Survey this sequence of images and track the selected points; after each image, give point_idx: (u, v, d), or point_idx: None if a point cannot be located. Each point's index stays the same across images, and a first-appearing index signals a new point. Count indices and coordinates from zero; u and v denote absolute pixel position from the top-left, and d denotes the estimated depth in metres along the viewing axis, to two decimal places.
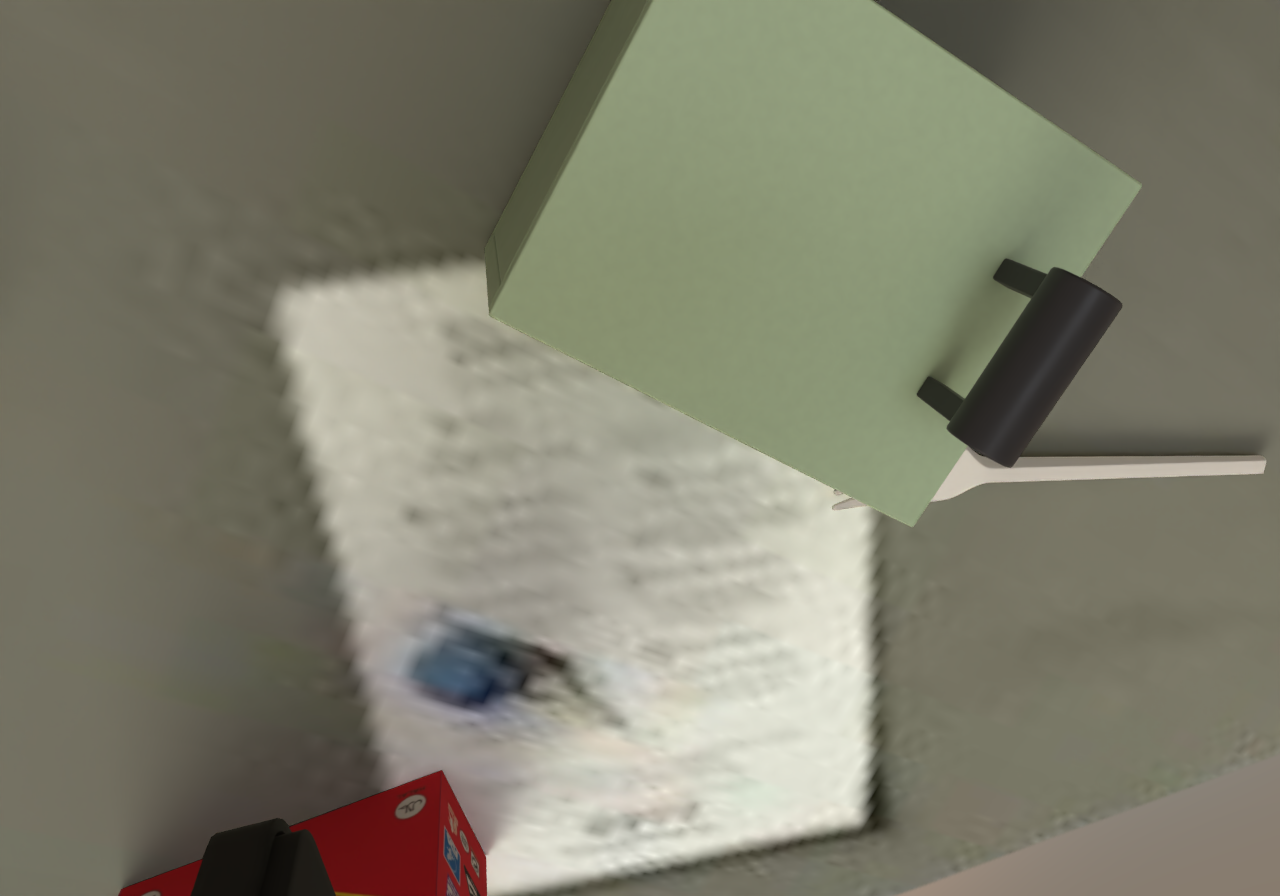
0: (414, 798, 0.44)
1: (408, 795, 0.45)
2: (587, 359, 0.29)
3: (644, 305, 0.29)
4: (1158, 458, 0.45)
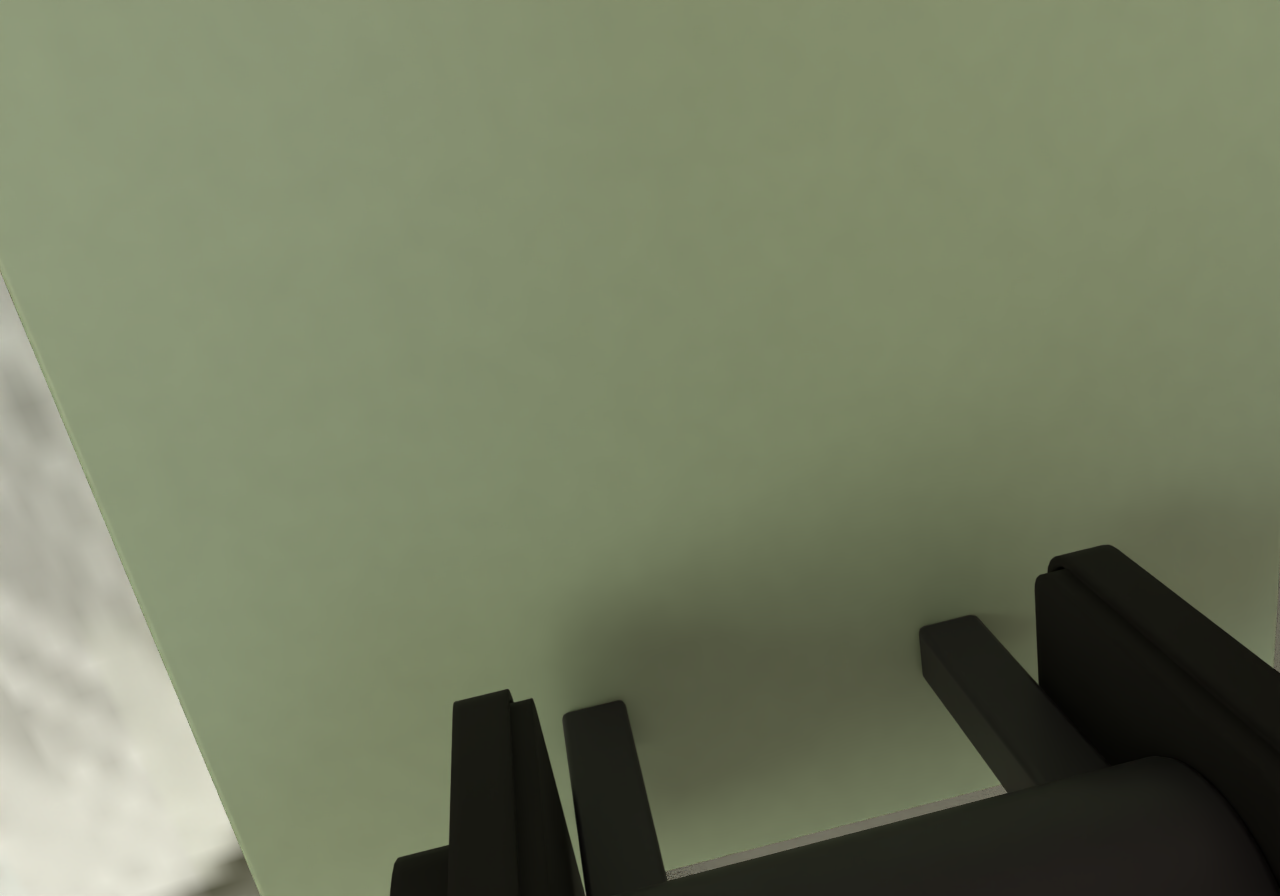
0: None
1: None
2: None
3: None
4: None
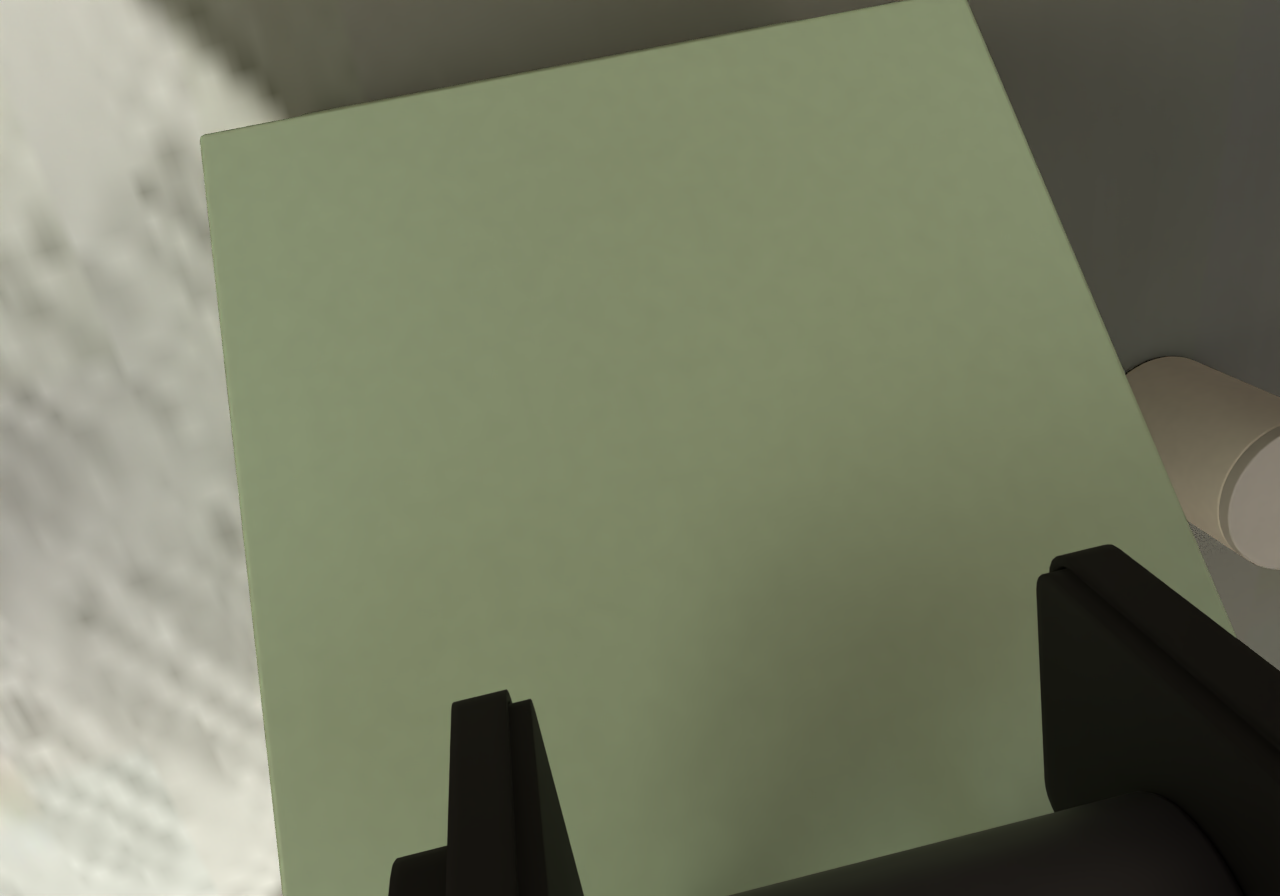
0: None
1: None
2: (228, 308, 0.15)
3: (383, 318, 0.15)
4: None
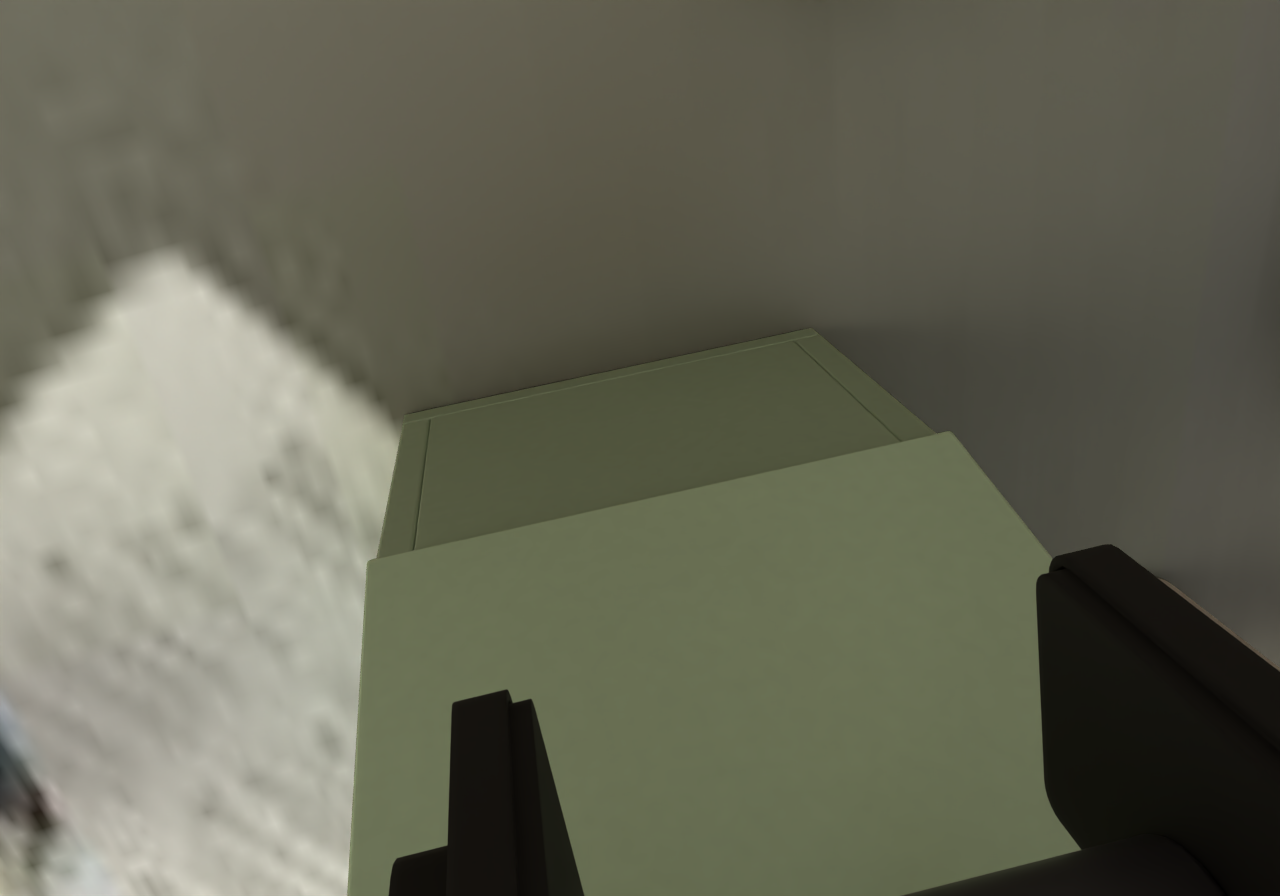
0: None
1: None
2: (368, 668, 0.18)
3: (490, 667, 0.18)
4: None
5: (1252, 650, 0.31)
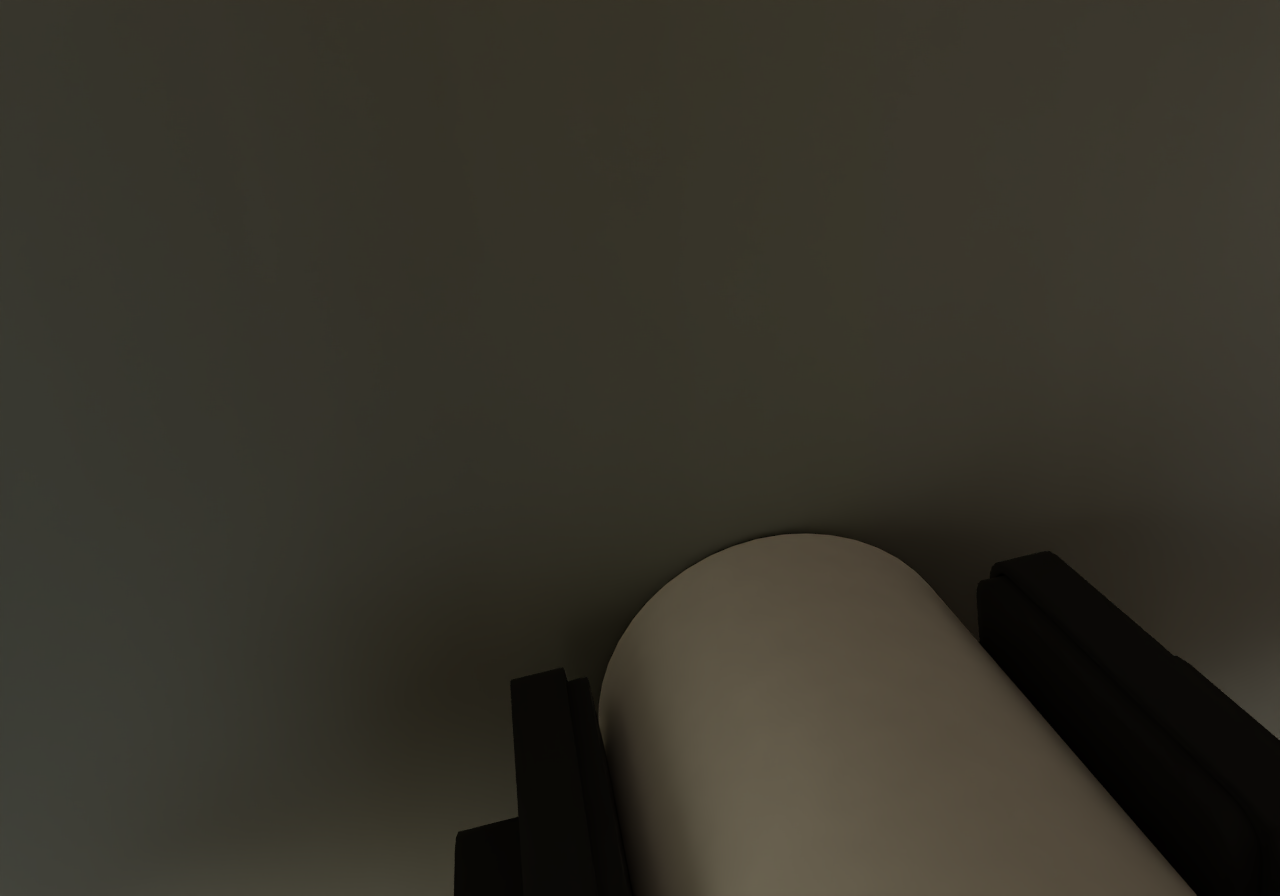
0: None
1: None
2: None
3: None
4: None
5: (1116, 862, 0.06)
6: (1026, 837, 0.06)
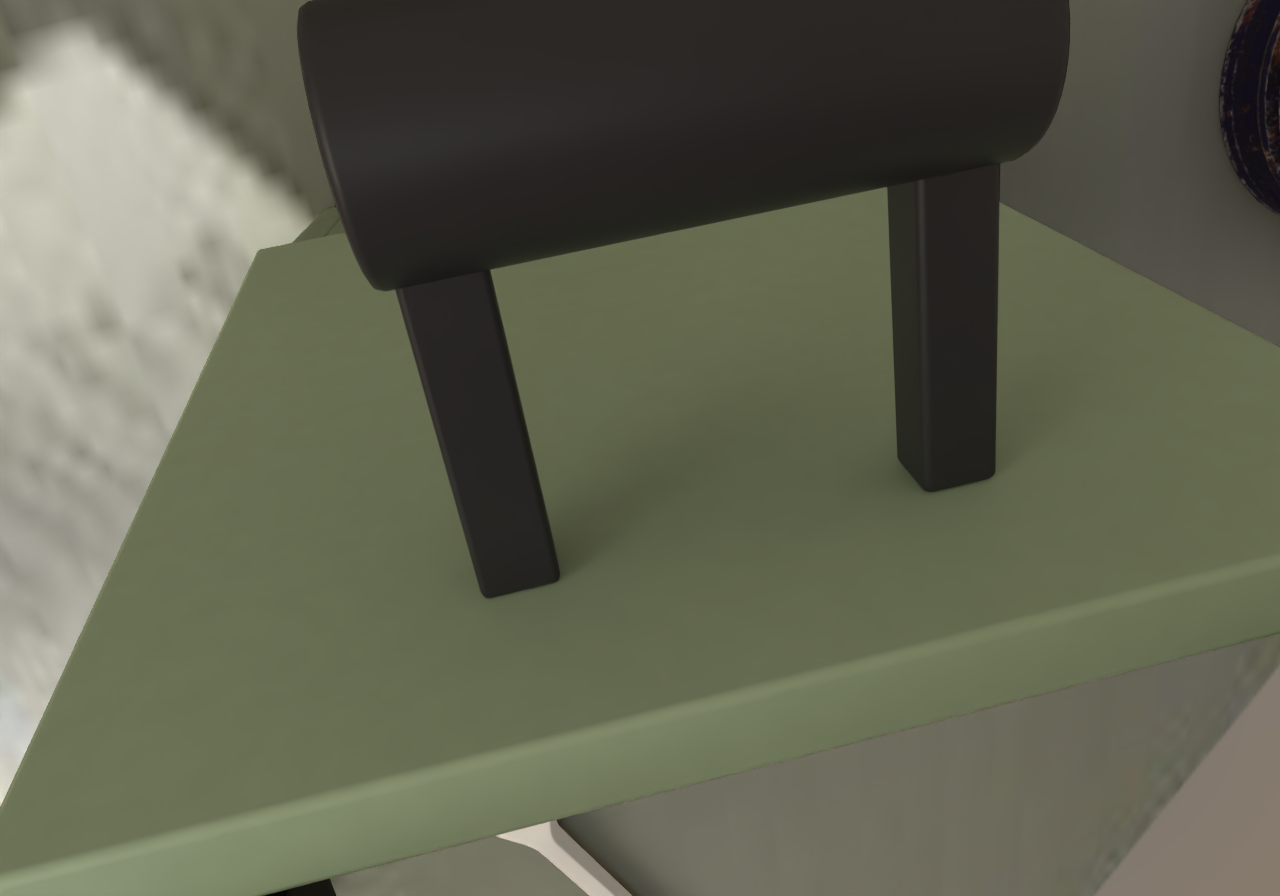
0: None
1: None
2: (241, 301, 0.17)
3: (365, 287, 0.17)
4: None
5: None
6: None
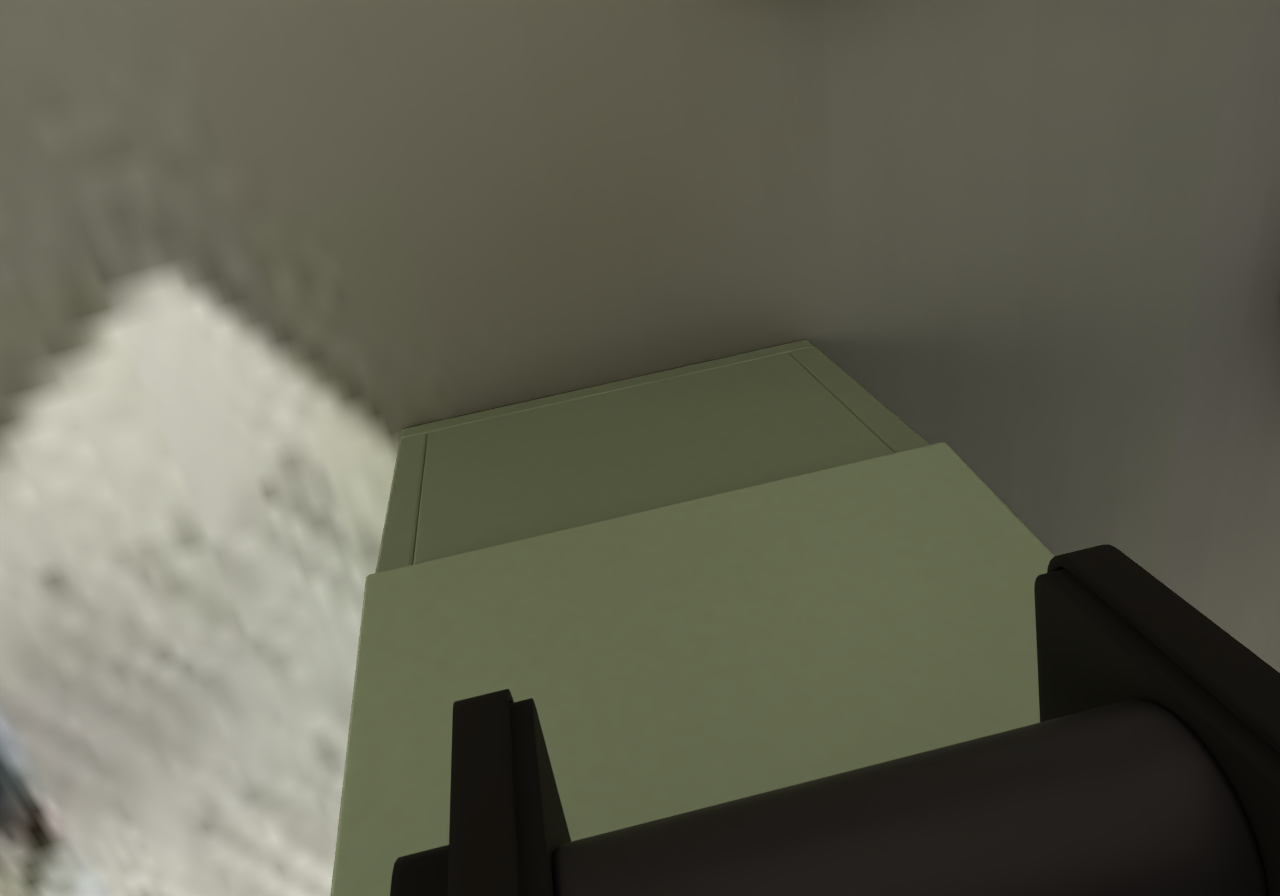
0: None
1: None
2: (363, 669, 0.18)
3: (484, 664, 0.18)
4: None
5: None
6: None
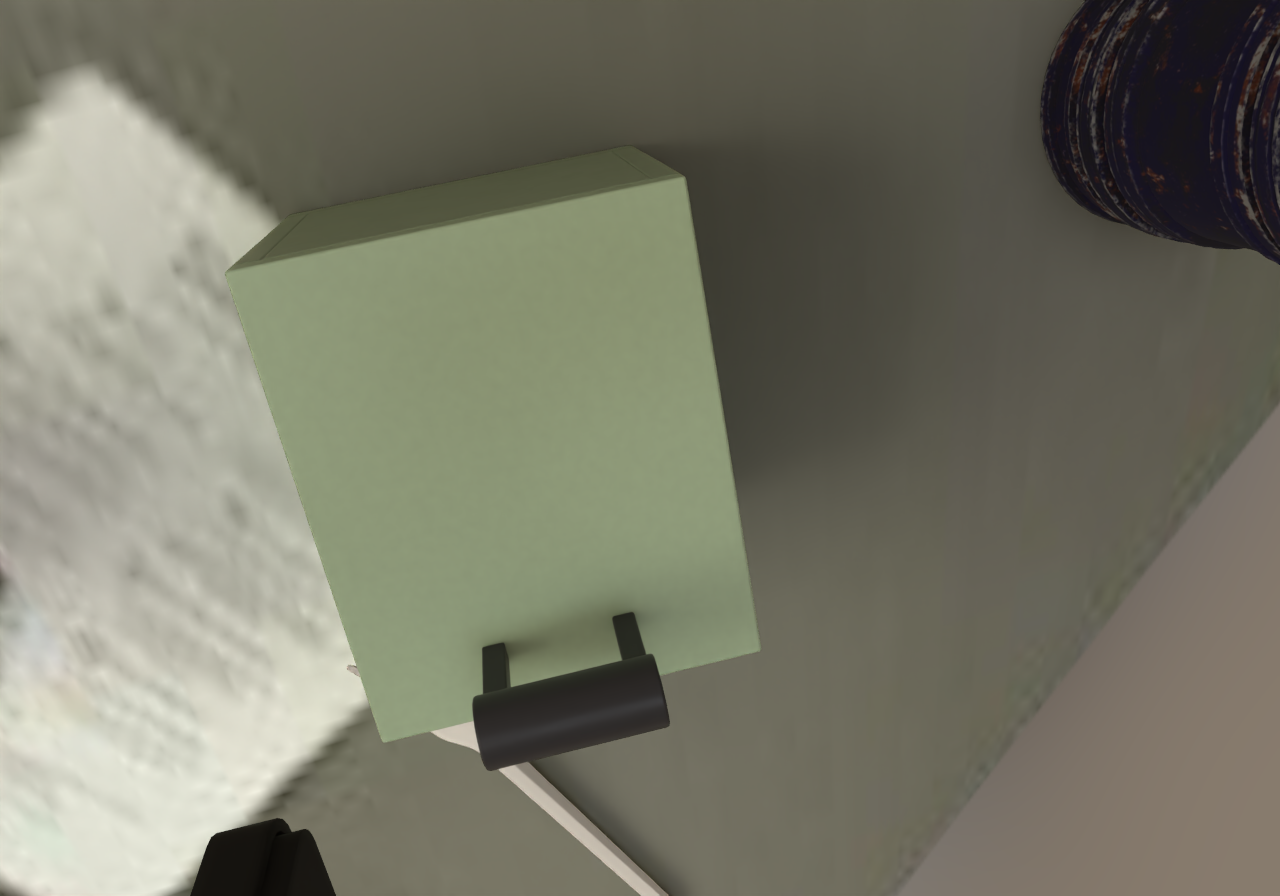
0: None
1: None
2: (267, 382, 0.28)
3: (353, 388, 0.28)
4: (609, 842, 0.47)
5: None
6: None
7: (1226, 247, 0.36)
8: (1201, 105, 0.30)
